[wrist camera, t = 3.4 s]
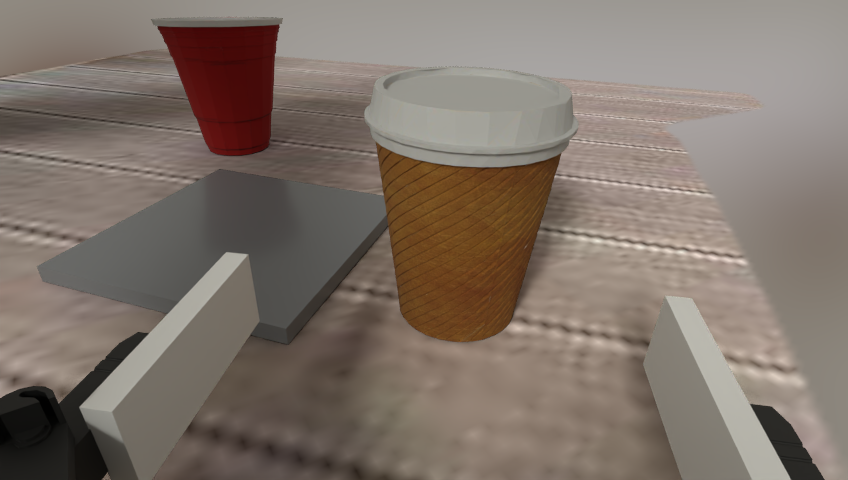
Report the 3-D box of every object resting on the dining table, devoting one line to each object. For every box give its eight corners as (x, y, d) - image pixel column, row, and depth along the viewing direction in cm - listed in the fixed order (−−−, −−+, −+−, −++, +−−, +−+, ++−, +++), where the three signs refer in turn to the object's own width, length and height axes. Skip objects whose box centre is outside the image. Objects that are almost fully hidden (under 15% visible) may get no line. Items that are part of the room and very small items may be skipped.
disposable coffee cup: (471, 397, 22) (498, 132, 16) (334, 305, 28) (317, 82, 22) (575, 304, 28) (622, 88, 22) (446, 244, 34) (456, 57, 28)
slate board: (42, 281, 29) (36, 266, 28) (221, 180, 42) (219, 169, 42) (288, 344, 25) (285, 328, 24) (400, 210, 38) (400, 198, 38)
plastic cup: (289, 125, 56) (277, 7, 50) (301, 159, 47) (288, 19, 41) (183, 133, 53) (157, 7, 47) (175, 170, 44) (140, 21, 38)
